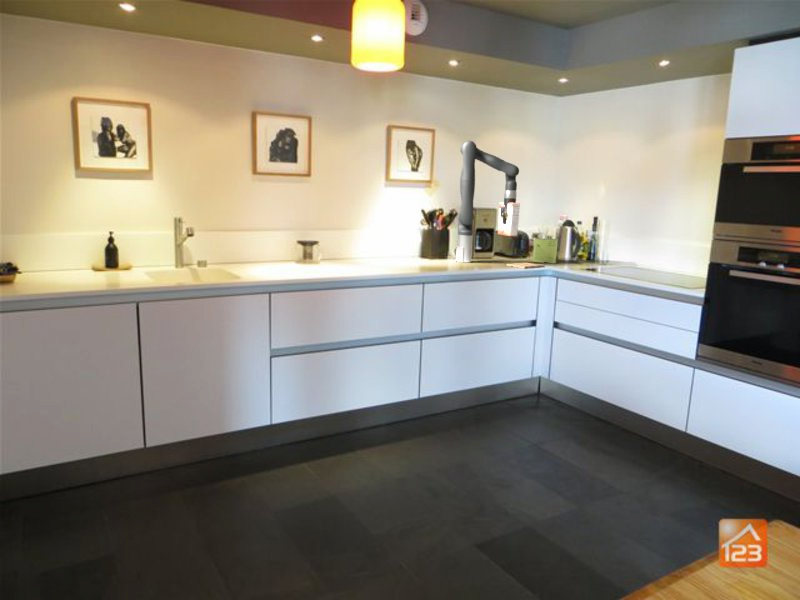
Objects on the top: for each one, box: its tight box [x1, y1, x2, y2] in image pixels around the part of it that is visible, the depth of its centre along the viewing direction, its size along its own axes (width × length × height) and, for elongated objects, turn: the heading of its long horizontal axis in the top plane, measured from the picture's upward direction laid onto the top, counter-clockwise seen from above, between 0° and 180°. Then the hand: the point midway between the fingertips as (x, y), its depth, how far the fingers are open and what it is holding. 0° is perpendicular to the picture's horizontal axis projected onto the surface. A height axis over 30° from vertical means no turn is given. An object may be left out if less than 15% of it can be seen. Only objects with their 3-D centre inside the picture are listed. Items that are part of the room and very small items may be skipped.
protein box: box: [532, 237, 559, 264], centre depth 392 cm, size 10×15×16 cm
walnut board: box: [505, 262, 545, 269], centre depth 361 cm, size 20×14×1 cm
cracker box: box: [497, 201, 521, 237], centre depth 370 cm, size 14×6×21 cm, turn 25°
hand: (508, 223), depth 370 cm, fingers closed on cracker box, 6 cm apart
